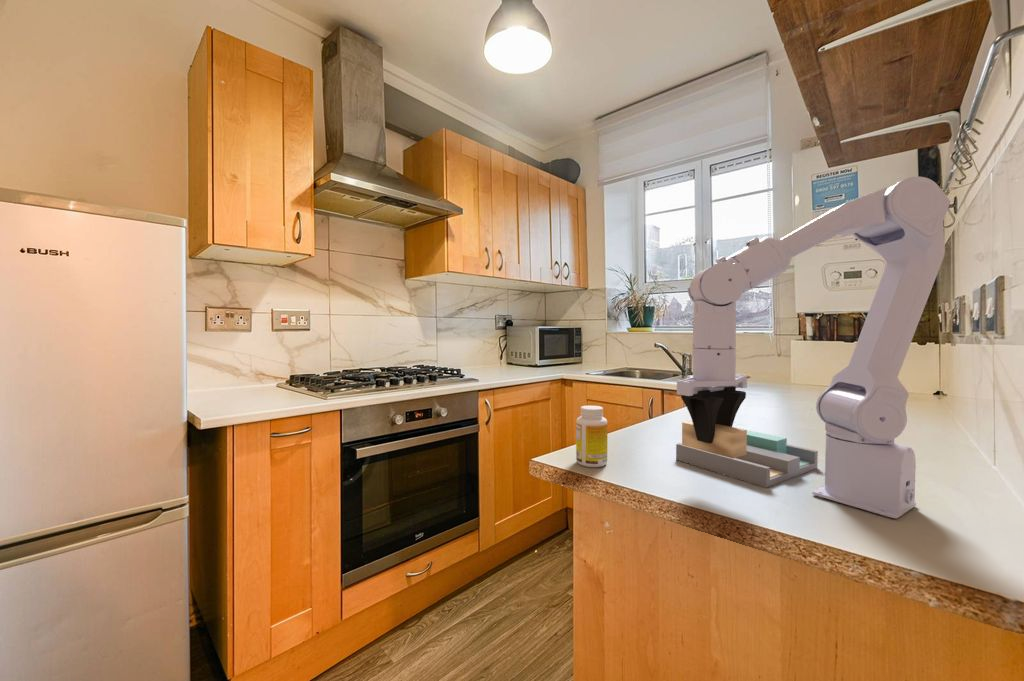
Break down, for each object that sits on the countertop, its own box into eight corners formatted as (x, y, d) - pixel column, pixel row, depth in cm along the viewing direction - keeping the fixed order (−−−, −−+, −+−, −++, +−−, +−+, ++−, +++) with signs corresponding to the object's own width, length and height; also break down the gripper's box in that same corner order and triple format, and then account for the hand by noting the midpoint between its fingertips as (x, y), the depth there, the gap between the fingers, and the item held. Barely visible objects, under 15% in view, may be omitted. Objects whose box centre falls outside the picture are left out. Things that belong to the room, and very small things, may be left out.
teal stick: (786, 457, 75) (786, 438, 75) (776, 460, 74) (776, 441, 74) (741, 446, 82) (742, 429, 82) (731, 449, 80) (732, 431, 80)
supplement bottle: (613, 463, 76) (613, 407, 75) (595, 470, 72) (595, 411, 72) (588, 456, 80) (588, 403, 79) (569, 463, 76) (569, 407, 76)
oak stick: (746, 454, 60) (746, 430, 60) (732, 458, 58) (732, 433, 58) (695, 441, 67) (696, 419, 67) (682, 445, 65) (682, 422, 65)
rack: (817, 467, 73) (817, 450, 73) (766, 487, 64) (766, 468, 64) (728, 446, 87) (728, 431, 87) (676, 459, 78) (676, 443, 78)
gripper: (717, 346, 69) (716, 427, 70) (659, 348, 61) (658, 440, 62) (761, 347, 63) (760, 437, 64) (703, 350, 55) (702, 452, 56)
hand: (713, 439), depth 62 cm, fingers closed on oak stick, 3 cm apart
